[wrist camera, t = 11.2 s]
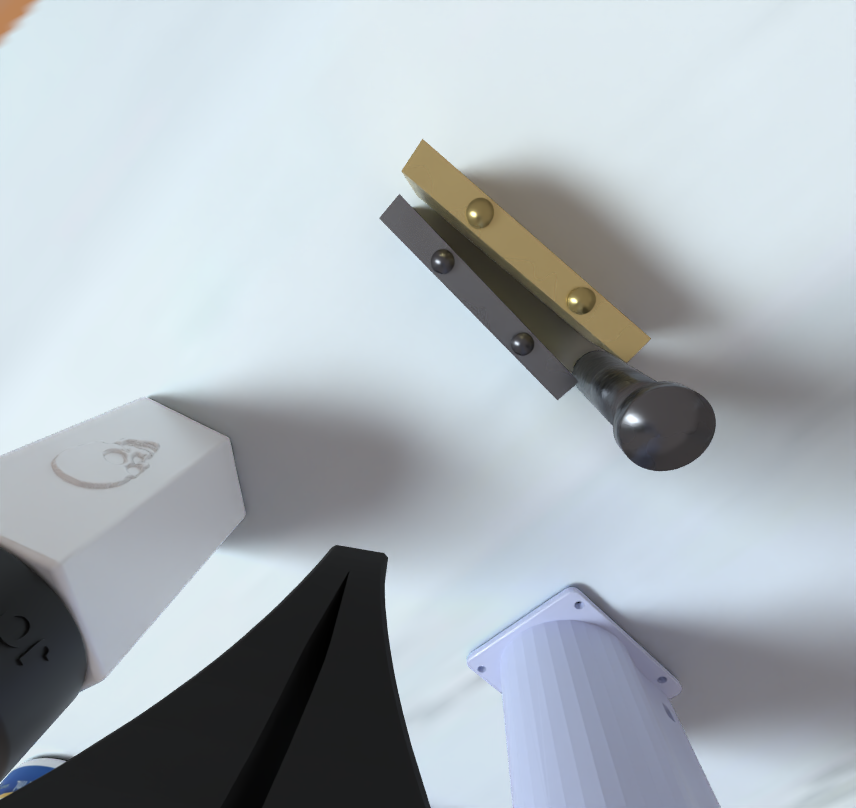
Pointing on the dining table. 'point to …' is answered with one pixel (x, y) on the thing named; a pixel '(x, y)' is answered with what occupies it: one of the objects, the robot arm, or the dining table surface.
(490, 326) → the hinge base
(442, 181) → the brass leaf
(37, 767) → the beverage bottle
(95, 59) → the dining table surface
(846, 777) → the dining table surface
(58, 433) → the jar
